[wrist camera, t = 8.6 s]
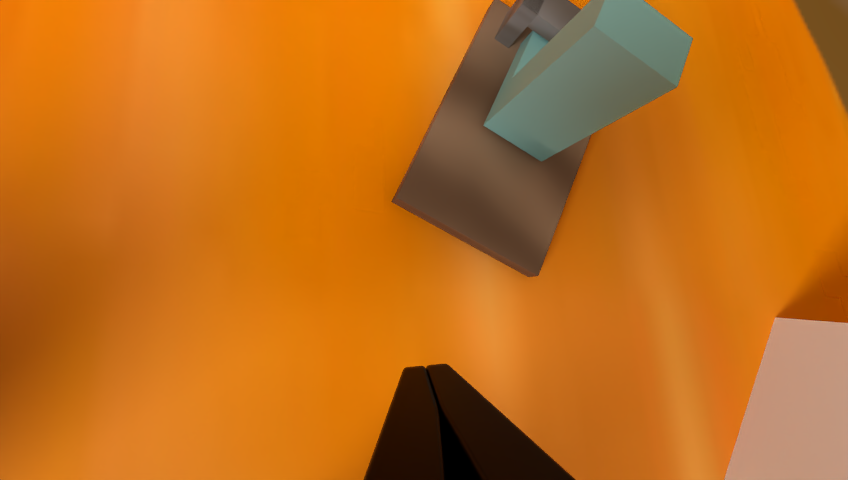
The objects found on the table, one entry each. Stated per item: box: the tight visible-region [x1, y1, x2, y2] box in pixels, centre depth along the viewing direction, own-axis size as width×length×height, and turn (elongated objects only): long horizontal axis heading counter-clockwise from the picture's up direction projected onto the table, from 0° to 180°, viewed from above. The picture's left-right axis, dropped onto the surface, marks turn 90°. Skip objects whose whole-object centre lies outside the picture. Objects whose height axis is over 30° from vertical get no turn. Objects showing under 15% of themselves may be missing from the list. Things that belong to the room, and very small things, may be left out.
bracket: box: [392, 0, 591, 277], centre depth 24 cm, size 14×9×4 cm, turn 154°
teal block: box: [483, 0, 693, 162], centre depth 21 cm, size 9×4×9 cm, turn 154°
